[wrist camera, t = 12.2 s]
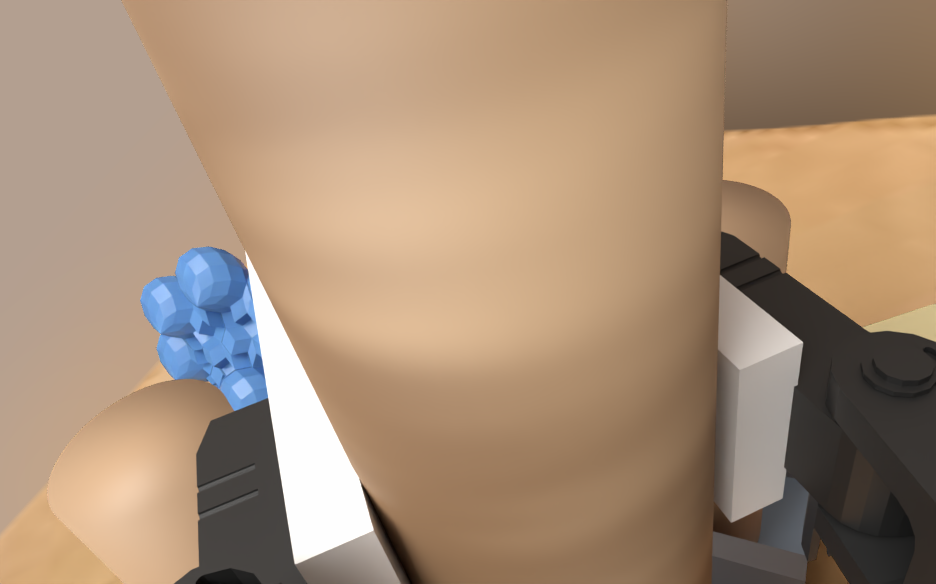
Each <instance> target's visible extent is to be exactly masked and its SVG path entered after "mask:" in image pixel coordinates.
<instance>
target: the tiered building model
mask: <svg viewBox="0 0 936 584" xmlns="http://www.w3.org/2000/svg"><path fill="white" fill-rule="evenodd" d="M862 328H864V329H865V330H867V331H869V332H870V333H871V332H880V331H893V332H902V333H910V334H915V335H918V336H921V337H924V338H926V339H929V340H932V341H935V342H936V304H932V305H929V306H926V307H923V308H920V309H917V310H913V311H910V312H907V313H904V314H901V315H898V316H895V317H892V318H889V319H886V320H883V321H880V322H877V323H874V324H871V325H868V326H865V327H862Z"/></svg>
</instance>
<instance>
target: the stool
mask: <svg viewBox="0 0 936 584" xmlns="http://www.w3.org/2000/svg"><path fill="white" fill-rule="evenodd" d="M790 228H791V219H790V215H789V212H788V210H787V208H786V207H785V206H784V205H783V203H782V202H781V201H779V200H778V199H777V198H776V197H774V196H773V195H772V194H770V193H768V192H766V191H764V190H762V189H759V188H757V187H754V186H751V185H748V184H744V183H739V182H734V181H727V180H722V214H721V231H722V232H725V233H728V234H731V235H734V236H736V237H737V238H738V239H740V240H741V241H742V242H744V243H745V244H747V245H748V246H749V247H751V248H752V249H754V250H755V251H756V252H758V253H759V255H760V257H761V258H764V257H765V258H766V259H768V260H769V261H770V262H772V263H773V264H775V265H776V266H777V267H779V268H780V270H781V272H782V273H783V274H784V273H786V269H787V259H788V248H789V238H790ZM231 412H234V410H233V408H232V406H231V405H230V403H229V402H228V400H227V398H226V397H225V396H224V394H223V393H222V391H220V390H219V389H218V388H217V387H216V386H214V385H212V384H210V383H208V382H205V381H201V380H195V379H178V380H171V381H165V382H161V383H158V384H154V385H151V386H148V387H145V388H143V389H141V390H138V391H136V392H134V393H132V394H130V395H128V396H126V397H124V398H122V399H120V400H119V401H117V402H115V403H114V404H112V405H111V406H109V407H108V408H106V409H105V410H103V411H102V412H100V413H99V414H98V415H97V416H95V417H94V418H93V419H92V420H91V421H89V422H88V423H87V424H86V425H85V426H84V427H83V428H82V429H81V430H80V431H79V432H78V433H77V434H76V435H75V436H74V438H73V439H72V440H71V441H70V442H69V443H68V445H67V446H66V447H65V449H64V450H63V452H62V453H61V454H60V456H59V458H58V460H57V461H56V463H55V465H54V468H53V470H52V472H51V475H50V478H49V482H48V489H47V497H48V503H49V506H50V509H51V510H52V512H53V514H54V515H55V516H56V517H57V518H58V519H59V520H60V521H61V522H62V523H63V524H64V525H65V526H66V527H67V528H68V529H69V530H70V531H71V532H72V533H73V534H74V535H75V536H76V537H77V538H78V539H79V540H80V541H81V542H82V543H83V544H84V545H85V546H86V547H87V548H88V549H89V550H90V551H91V552H92V553H93V554H94V555H95V556H96V557H98V558H99V559H100V560H101V561H102V562H103V563H104V564H105V565H106V566H107V567H108V568H109V569H110V570H111V571H112V572H113V573H114V574H115V575H116V576H117V577H118V578H119V579H120V580H121V581H122V582H123V583H124V584H174V583H175V582H176V581H178V580H179V579H180V578H182V577H183V576H184V575H185V574H187V573H188V572H189V571H190V570H192V569H194V568H197V567H199V548H198V520H200V518H199V515H198V509H197V493H198V492H199V490H198V488H197V470H196V453H197V451H198V449H199V446H200V444H201V442H202V439H203V437H204V435H205V432H206V430H207V428H208V425H209V423H210V421H211V420H214V419H216V418H219V417H221V416H224V415H226V414H229V413H231ZM808 496H809V493H808V492H807V490H806V489H805V488H804V487H803V486H802V485H801V484H800V483H799V482H798V481H797V480H796V479H795V478H794V477H793V476H792V475H791V474H790V473H789V472H788V471H787V470H786V477H785V484H784V492H783V498H782V499H780V500H778V501H776V502H774V503H772V504H770V505H768V506H766V507H764V508H761V509H759V510H757V511H755V512H753V513H751V514H749V515H747V516H745V517H742V518H740V519H738V520H736V521H734V522H732V523H731V522H730V521H729V520H728V518H727V517H726V516H725V515H724V513H723V512H722V511H721V510H720V508H719V507H718V506H717V505H716V503H715V502H714V510H713V547H712V584H805V582H806V571H807V559H806V556H805V554H804V551H803V548H802V545H801V542H802V532H803V525H804V519H805V513H806V508H807V502H808Z"/></svg>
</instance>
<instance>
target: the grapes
mask: <svg viewBox="0 0 936 584" xmlns="http://www.w3.org/2000/svg"><path fill="white" fill-rule="evenodd" d="M175 274H176V276H167V277H160V278H156V279H154V280H153V281H151V282H150V283H149V284H147V285H146V286H145V287H144V289H143V293H142V296H141V300H140V301H141V304H142V308H143V311H144V314H145V317H146V318H147V319H148V321H149V322H150V323H151V325H152V326H153V327H154V329H156V330H157V331H158V332H159V333H160V334H161V335H160V338H159V341H158V345H157V351H158V355H159V358H160V361H161V363H162V365H163V366H164V368H165V369H166V370H167V372H168V373H169V374H170V375H171V376H172V377H173V378H174V379H175V380H178V379H195V380H201V381H205V382H207V381H209V382H210V383H211V384H212V385H214V386H216V387H217V388H218V389H219V390H220V391H222V393H223V394H224V396H225V397H226V398H227V400H228V402H229V403H230V405H231V406H232V408H233V410H234V411H236V410H239V409H241V408H244V407H246V406H249V405H251V404H254V403H256V402H259V401H261V400H264V399H266V398H268V392H267V385H266V379H265V373H264V366H263V360H262V354H261V347H260V341H259V335H258V328H257V322H256V316H255V309H254V303H253V297H252V290H251V284H250V278H249V271H248V269H247V268H246V267H245V266H244V264H243V263H242V262H241V260H239V259H238V258H236V257H235V256H233V255H232V254H230V253H228V252H227V251H225V250H222V249H217V248H213V247H201V248H192V249H191V250H189V251H188V252H187V253H185V254H184V255H182V256H181V257H179V260H178V264H177V268H176V271H175Z"/></svg>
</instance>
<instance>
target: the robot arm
mask: <svg viewBox="0 0 936 584" xmlns="http://www.w3.org/2000/svg"><path fill="white" fill-rule="evenodd" d="M245 252H246V251H245ZM246 259H247V265H248V271H249V278H250V284H251V290H252V297H253V303H254V309H255V316H256V322H257V328H258V335H259V341H260V347H261V354H262V360H263V366H264V373H265V379H266V385H267V392H268V398H266V399H264V400H261V401H259V402H256V403H254V404H251V405H249V406H246V407H244V408H241V409H239V410H236V411H234V412H231V413H229V414H226V415H224V416H221V417H219V418H216V419H214V420H211V421H210V423H209V425H208V428H207V430H206V432H205V435H204V437H203V439H202V442H201V444H200V446H199V449H198V451H197V453H196V470H197V488H198V490H199V492H198V493H197V509H198V515H199V518H200V520H198V548H199V567H197V568H194V569H192V570H190V571H189V572H188V573H187V574H185V575H184V576H183V577H182V578H180V579H179V580H178V581H176V582H175V583H174V584H411V583H410V581H409V579H408V577H407V574H406V572H405V570H404V568H403V566H402V564H401V562H400V560H399V558H398V556H397V554H396V552H395V550H394V548H393V546H392V544H391V542H390V540H389V538H388V536H387V534H386V532H385V530H384V528H383V526H382V524H381V522H380V520H379V518H378V516H377V514H376V512H375V510H374V508H373V506H372V504H371V502H370V499H369V497H368V495H367V493H366V491H365V489H364V487H363V485H362V483H361V481H360V479H359V477H358V476H357V474H356V472H355V471H354V469H353V467H352V466H351V463H350V461H349V459H348V457H347V455H346V453H345V451H344V449H343V447H342V445H341V443H340V441H339V439H338V437H337V435H336V433H335V431H334V429H333V427H332V425H331V423H330V421H329V419H328V417H327V415H326V413H325V411H324V409H323V407H322V405H321V403H320V401H319V399H318V397H317V395H316V393H315V391H314V389H313V387H312V385H311V383H310V381H309V379H308V377H307V375H306V373H305V371H304V369H303V367H302V364H301V362H300V360H299V358H298V356H297V354H296V352H295V350H294V348H293V346H292V344H291V342H290V340H289V338H288V336H287V334H286V332H285V330H284V328H283V326H282V324H281V322H280V320H279V318H278V316H277V314H276V312H275V310H274V308H273V306H272V304H271V302H270V300H269V298H268V296H267V294H266V292H265V290H264V288H263V286H262V284H261V282H260V280H259V278H258V276H257V274H256V272H255V270H254V268H253V266H252V263H251V261H250V259H249V257H248V255H247V253H246ZM786 470H787V471H788V472H789V473H790V474H791V475H792V476H793V477H794V478H795V479H796V480H797V481H798V482H799V483H800V484H801V485H802V486H803V487H804V488H805V489H806V490H807V492H808V493H809V496H808V502H807V508H806V513H805V519H804V525H803V532H802V542H801V545H802V548H803V551H804V554H805V556H806V559H807V562H809V561H812V560H816V558H817V553H818V548H819V543H820V538H821V540H822V541H823V543H824V545H825V546H826V548H827V554H828V556H832V557H833V559H834V560H835V562H836V563H837V565H838V567H839V568H840V570H841V571H842V573H843V574H844V576H845V577H846V579H847V581H848V582H849V584H936V342H935V341H932V340H929V339H926V338H924V337H921V336H918V335H915V334H910V333H902V332H893V331H880V332H871V333H870V332H869V331H867V330H865V329H864V328H862V327H861V326H860V325H858V324H857V323H855V322H854V321H853V320H851V319H850V318H848V317H847V316H846V315H844V314H843V313H841V312H840V311H839V310H837V309H836V308H834V307H833V306H832V305H830V304H829V303H827V302H826V301H825V300H823V299H822V298H821V297H819V296H818V295H816V294H815V293H814V292H812V291H811V290H809V289H808V288H807V287H805V286H804V285H802V284H801V283H800V282H798V281H797V280H795V279H794V278H793V277H791V276H790V275H788V274H787V273H784V274H783V273H782V272H781V270H780V268H779V267H777V266H776V265H775V264H773V263H772V262H770V261H769V260H768V259H766V258H765V257H764V258H761V257H760V255H759V253H758V252H756V251H755V250H754V249H752V248H751V247H749V246H748V245H747V244H745V243H744V242H742V241H741V240H740V239H738V238H737V237H736V236H734V235H731V234H728V233H725V232H722V231H721V251H720V288H719V325H718V362H717V399H716V436H715V473H714V502H715V503H716V505H717V506H718V507H719V508H720V510H721V511H722V512H723V513H724V515H725V516H726V517H727V518H728V520H729V521H730V522H731V523H732V522H734V521H736V520H738V519H740V518H742V517H745V516H747V515H749V514H751V513H753V512H755V511H757V510H759V509H761V508H764V507H766V506H768V505H770V504H772V503H774V502H776V501H778V500H780V499H782V498H783V492H784V484H785V477H786Z"/></svg>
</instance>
